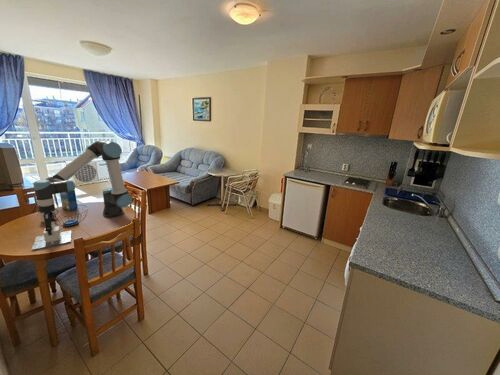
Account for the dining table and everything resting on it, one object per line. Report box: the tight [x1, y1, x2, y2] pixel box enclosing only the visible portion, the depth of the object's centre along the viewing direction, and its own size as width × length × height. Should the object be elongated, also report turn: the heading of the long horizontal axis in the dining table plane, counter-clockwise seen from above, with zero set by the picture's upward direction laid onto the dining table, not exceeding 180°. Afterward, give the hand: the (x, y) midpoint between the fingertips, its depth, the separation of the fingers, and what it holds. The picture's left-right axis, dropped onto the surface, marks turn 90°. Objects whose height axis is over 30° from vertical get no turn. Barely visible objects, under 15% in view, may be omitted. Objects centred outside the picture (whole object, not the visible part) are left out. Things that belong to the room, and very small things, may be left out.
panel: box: [31, 230, 72, 251], centre depth 137 cm, size 18×18×6 cm
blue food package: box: [59, 189, 79, 212], centre depth 185 cm, size 6×12×25 cm, turn 65°
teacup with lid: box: [39, 208, 59, 223], centre depth 164 cm, size 12×9×12 cm
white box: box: [43, 225, 61, 243], centre depth 137 cm, size 7×7×8 cm
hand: (52, 234), depth 137 cm, fingers open, 13 cm apart
